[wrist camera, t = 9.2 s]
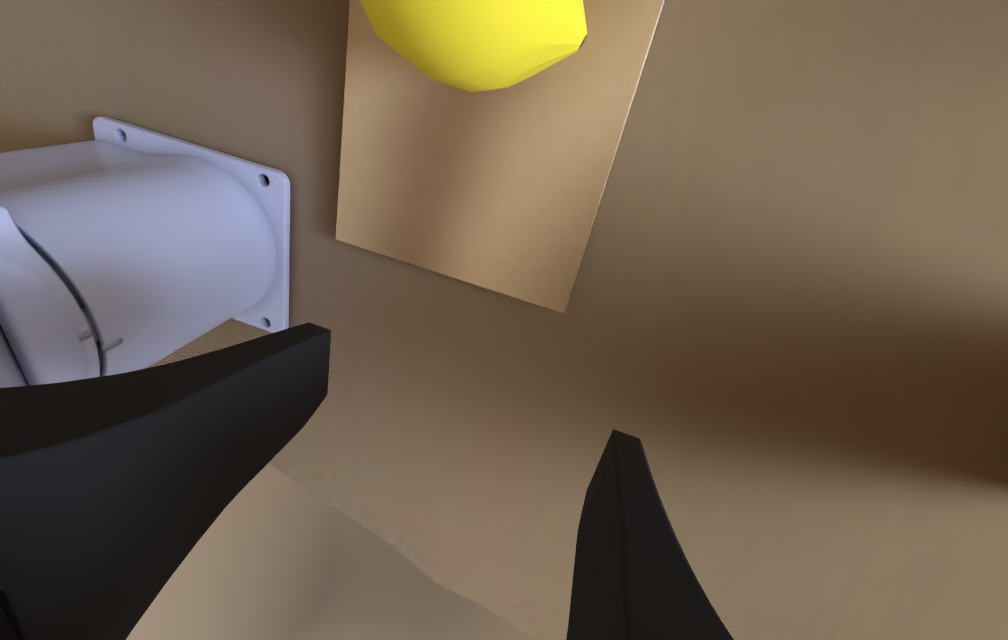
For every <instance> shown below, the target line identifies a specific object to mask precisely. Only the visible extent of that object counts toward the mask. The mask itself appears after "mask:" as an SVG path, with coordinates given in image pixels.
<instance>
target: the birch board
mask: <svg viewBox="0 0 1008 640" xmlns="http://www.w3.org/2000/svg"><path fill="white" fill-rule="evenodd" d="M664 3H665V0H583V5H584V12H585V20H586V27H587V37H586V39H585V41H584V43H583V45H582V47H581V48H580V49H579V50H578V51H577V52H575V53H573V54H571V55H569V56H568V57H566V58H564V59H562V60H560V61H558V62H557V63H555V64H553V65H551V66H549V67H548V68H546V69H544V70H542V71H540V72H538V73H537V74H535V75H533V76H531V77H529V78H527V79H525V80H523V81H521V82H519V83H517V84H515V85H512V86H510V87H507V88H500V89H494V90H486V91H478V92H469V91H466V90H463V89H460V88H457V87H454V86H451V85H448V84H445V83H442V82H439V81H436V80H433V79H431V78H429V77H428V76H427V75H425V74H424V73H423V72H421V71H420V70H418V69H417V68H416V67H414V66H413V65H412V64H410V63H409V62H408V61H407V60H406V59H404V58H403V57H402V56H401V55H400V54H398V53H397V52H396V51H395V50H394V49H393V48H391V47H390V46H389V45H388V44H387V43H385V42H384V41H383V40H382V39H381V38H379V37H378V36H377V35H376V34H375V32H374V29H373V27H372V25H371V23H370V21H369V19H368V16H367V14H366V12H365V10H364V8H363V6H362V3H361V1H360V0H350V4H349V21H348V38H347V55H346V72H345V89H344V106H343V122H342V139H341V156H340V173H339V190H338V207H337V224H336V240H339V241H342V242H345V243H348V244H351V245H354V246H357V247H360V248H363V249H366V250H370V251H373V252H376V253H379V254H382V255H385V256H388V257H391V258H394V259H397V260H400V261H403V262H406V263H409V264H413V265H416V266H419V267H422V268H425V269H428V270H431V271H434V272H437V273H440V274H443V275H446V276H449V277H452V278H456V279H459V280H462V281H465V282H468V283H471V284H474V285H477V286H480V287H483V288H486V289H489V290H492V291H495V292H499V293H502V294H505V295H508V296H511V297H514V298H517V299H520V300H523V301H526V302H529V303H532V304H535V305H538V306H542V307H545V308H548V309H551V310H554V311H557V312H560V313H565V310H566V307H567V305H568V302H569V298H570V295H571V292H572V289H573V286H574V283H575V280H576V277H577V274H578V270H579V267H580V264H581V261H582V258H583V255H584V252H585V249H586V246H587V242H588V239H589V236H590V233H591V230H592V227H593V224H594V221H595V218H596V214H597V211H598V208H599V205H600V202H601V199H602V196H603V193H604V189H605V186H606V183H607V180H608V177H609V174H610V171H611V168H612V165H613V161H614V158H615V155H616V152H617V149H618V146H619V143H620V140H621V137H622V133H623V130H624V127H625V124H626V121H627V118H628V115H629V112H630V109H631V105H632V102H633V99H634V96H635V93H636V90H637V87H638V84H639V81H640V77H641V74H642V71H643V68H644V65H645V62H646V59H647V56H648V53H649V49H650V46H651V43H652V40H653V37H654V34H655V31H656V28H657V25H658V21H659V18H660V15H661V12H662V9H663V6H664Z"/></svg>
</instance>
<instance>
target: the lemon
mask: <svg viewBox="0 0 1008 640" xmlns="http://www.w3.org/2000/svg"><path fill="white" fill-rule="evenodd" d="M360 1H361V3H362V6H363V8H364V10H365V12H366V14H367V16H368V19H369V21H370V23H371V25H372V27H373V29H374V32H375V34H376V35H377V36H378V37H379V38H381V39H382V40H383V41H384V42H385V43H387V44H388V45H389V46H390V47H391V48H393V49H394V50H395V51H396V52H397V53H398V54H400V55H401V56H402V57H403V58H404V59H406V60H407V61H408V62H409V63H410V64H412V65H413V66H414V67H416V68H417V69H418V70H420V71H421V72H423V73H424V74H425V75H427V76H428V77H429V78H431V79H433V80H436V81H439V82H442V83H445V84H448V85H451V86H454V87H457V88H460V89H463V90H466V91H469V92H478V91H486V90H494V89H500V88H507V87H510V86H512V85H515V84H517V83H519V82H521V81H523V80H525V79H527V78H529V77H531V76H533V75H535V74H537V73H538V72H540V71H542V70H544V69H546V68H548V67H549V66H551V65H553V64H555V63H557V62H558V61H560V60H562V59H564V58H566V57H568V56H569V55H571V54H573V53H575V52H577V51H578V50H579V49H580V48H581V47H582V45H583V43H584V41H585V39H586V37H587V27H586V20H585V12H584V5H583V0H360Z"/></svg>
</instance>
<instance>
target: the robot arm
mask: <svg viewBox="0 0 1008 640" xmlns="http://www.w3.org/2000/svg"><path fill="white" fill-rule="evenodd" d="M93 130H94V136H95V140H92V141H84V142H77V143H69V144H62V145H54V146H47V147H39V148H32V149H24V150H17V151H10V152H2V153H0V640H126V638H127V637H128V635H129V634H130V632H131V631H132V629H133V628H134V626H135V625H136V624H137V622H138V621H139V620H140V618H141V617H142V615H143V614H144V613H145V611H146V610H147V609H148V607H149V606H150V604H151V603H152V602H153V600H154V599H155V597H156V596H157V595H158V593H159V592H160V590H161V589H162V588H163V586H164V585H165V584H166V582H167V581H168V580H169V578H170V577H171V575H172V574H173V573H174V572H175V570H176V569H177V568H178V567H179V565H180V564H181V563H182V561H183V560H184V559H185V557H186V556H187V555H188V553H189V552H190V551H191V550H192V548H193V547H194V546H195V544H196V543H197V542H198V541H199V539H200V538H201V537H202V535H203V534H204V533H205V532H206V531H207V529H208V528H209V527H210V525H211V524H212V523H213V522H214V521H215V519H216V518H217V517H218V516H219V515H220V513H221V512H222V511H223V510H224V508H225V507H226V506H227V505H228V504H229V503H230V502H231V501H232V500H233V498H234V497H235V496H236V495H237V494H238V493H239V492H240V491H241V490H242V489H243V488H244V487H245V486H246V485H247V484H248V482H249V481H250V480H252V479H253V478H254V477H255V476H256V475H257V474H258V473H259V471H261V470H262V469H263V468H264V467H265V466H266V465H267V464H268V463H269V462H270V461H271V459H272V458H273V457H274V456H275V455H276V454H277V453H278V452H279V451H280V450H281V449H282V448H283V447H284V446H285V445H286V444H287V443H288V442H289V441H290V440H291V439H292V438H293V437H294V436H295V435H296V434H297V433H298V432H299V431H300V430H301V429H302V428H303V427H304V425H305V424H306V423H307V421H308V420H309V419H310V418H311V416H312V415H313V414H314V412H315V411H316V410H317V408H318V407H319V405H320V404H321V403H322V401H323V400H324V398H325V397H326V396H327V389H328V373H329V356H330V340H331V330H329V329H326V328H323V327H320V326H317V325H315V324H312V323H306V324H302V325H298V326H294V327H291V328H288V327H289V257H290V180H289V178H288V176H287V175H286V174H285V173H284V172H282V171H280V170H277V169H274V168H271V167H268V166H265V165H261V164H258V163H255V162H252V161H248V160H245V159H242V158H239V157H236V156H232V155H229V154H226V153H223V152H220V151H216V150H213V149H210V148H207V147H203V146H200V145H197V144H194V143H191V142H187V141H184V140H181V139H178V138H175V137H171V136H168V135H165V134H162V133H159V132H155V131H152V130H149V129H146V128H142V127H139V126H136V125H133V124H130V123H126V122H123V121H120V120H117V119H114V118H110V117H107V116H101V117H96V118H94V120H93ZM124 133H125V134H124ZM125 135H126V136H125ZM265 175H266V176H267V177H268V178H269V184H268V183H267V182H266V181H265V177H264V176H265ZM230 318H232V319H235V320H238V321H241V322H244V323H246V324H249V325H252V326H255V327H258V328H260V329H263V330H266V331H269V332H272V334H269V335H266V336H263V337H259V338H256V339H253V340H250V341H247V342H244V343H240V344H237V345H234V346H231V347H228V348H224V349H221V350H217V351H214V352H210V353H206V354H203V355H199V356H195V357H192V358H188V359H185V360H181V361H177V362H173V363H169V364H165V365H160V366H156V367H151V368H148V367H149V366H151V365H153V364H154V363H156V362H158V361H160V360H161V359H163V358H165V357H166V356H168V355H170V354H171V353H173V352H175V351H176V350H178V349H180V348H181V347H183V346H185V345H186V344H188V343H190V342H191V341H193V340H195V339H197V338H198V337H200V336H202V335H203V334H205V333H207V332H208V331H210V330H212V329H213V328H215V327H217V326H218V325H220V324H222V323H223V322H225V321H227V320H228V319H230ZM267 319H268V320H269V321H270V323H269V322H268V320H267ZM566 640H734V639H733V638H732V636H731V635H730V633H729V632H728V630H727V629H726V627H725V626H724V624H723V623H722V621H721V620H720V618H719V616H718V615H717V613H716V611H715V610H714V608H713V607H712V605H711V603H710V602H709V600H708V598H707V596H706V594H705V593H704V591H703V589H702V587H701V586H700V584H699V582H698V580H697V578H696V576H695V574H694V572H693V571H692V569H691V567H690V565H689V563H688V561H687V559H686V557H685V555H684V552H683V550H682V548H681V546H680V544H679V542H678V540H677V537H676V535H675V533H674V531H673V528H672V526H671V524H670V521H669V519H668V516H667V514H666V511H665V509H664V507H663V504H662V502H661V499H660V496H659V494H658V491H657V488H656V486H655V483H654V480H653V477H652V474H651V471H650V468H649V465H648V462H647V459H646V456H645V452H644V449H643V446H642V443H641V441H640V439H639V438H637V437H634V436H631V435H628V434H625V433H622V432H619V431H617V430H614V429H613V431H612V433H611V436H610V438H609V440H608V443H607V445H606V447H605V450H604V452H603V454H602V456H601V459H600V461H599V463H598V466H597V468H596V470H595V473H594V475H593V477H592V480H591V482H590V484H589V487H588V489H587V492H586V496H585V501H584V505H583V510H582V514H581V519H580V523H579V528H578V535H577V544H576V554H575V564H574V574H573V584H572V594H571V604H570V615H569V625H568V632H567V639H566Z"/></svg>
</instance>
